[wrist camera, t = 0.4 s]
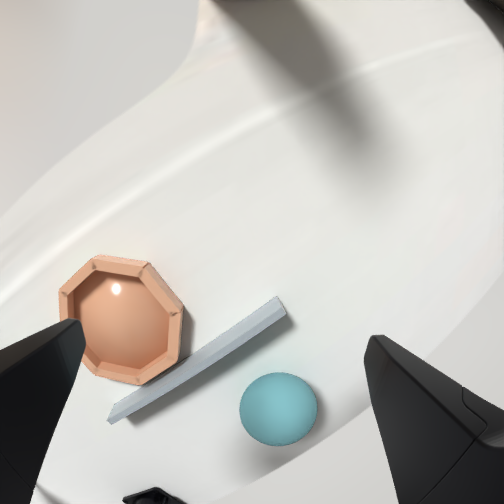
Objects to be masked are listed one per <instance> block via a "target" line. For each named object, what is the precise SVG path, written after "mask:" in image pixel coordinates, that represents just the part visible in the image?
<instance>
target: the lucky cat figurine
mask: <svg viewBox="0 0 504 504" xmlns="http://www.w3.org/2000/svg"><path fill="white" fill-rule="evenodd" d="M488 1H489V2H491V3H492V4H493V5H494V6H495V7H496V8H497V9H499V10H500V11H501V12H502V13H503V14H504V0H488Z"/></svg>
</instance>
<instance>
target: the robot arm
mask: <svg viewBox="0 0 504 504" xmlns="http://www.w3.org/2000/svg"><path fill="white" fill-rule="evenodd" d="M85 348H86V339H85V335H84V331H83V327H82V323H81V321H80V320H79V319H73V318H67V319H65V320H63V321H61V322H59V323H56V324H54V325H52V326H50V327H48V328H46V329H44V330H41V331H39V332H37V333H35V334H33V335H31V336H29V337H27V338H25V339H22V340H20V341H18V342H16V343H14V344H12V345H10V346H8V347H6V348H4V349H2V350H0V504H30V501H31V498H32V495H33V490H34V488H35V485H36V482H37V478H38V475H39V472H40V470H41V467H42V464H43V461H44V458H45V455H46V452H47V450H48V447H49V444H50V442H51V439H52V436H53V434H54V431H55V428H56V426H57V423H58V421H59V418H60V416H61V413H62V411H63V409H64V406H65V404H66V401H67V399H68V397H69V394H70V392H71V390H72V387H73V385H74V382H75V379H76V376H77V372H78V369H79V366H80V363H81V360H82V357H83V354H84V351H85ZM364 366H365V371H366V377H367V382H368V387H369V393H370V398H371V403H372V407H373V410H374V414H375V417H376V420H377V424H378V427H379V431H380V434H381V437H382V441H383V445H384V448H385V452H386V456H387V459H388V463H389V466H390V470H391V474H392V478H393V482H394V486H395V490H396V494H397V498H398V502H399V504H504V410H502V409H500V408H498V407H497V406H495V405H493V404H491V403H489V402H488V401H486V400H484V399H482V398H481V397H479V396H477V395H476V394H474V393H472V392H471V391H469V390H468V389H467V388H465V387H462V385H460V384H459V383H457V382H456V381H454V380H453V379H451V378H450V377H448V376H446V375H445V374H443V373H442V372H440V371H439V370H437V369H435V368H434V367H433V366H431V365H429V364H428V363H426V362H425V361H423V360H422V359H420V358H419V357H417V356H416V355H414V354H413V353H411V352H409V351H408V350H406V349H405V348H403V347H402V346H400V345H399V344H397V343H396V342H394V341H392V340H391V339H389V338H388V337H386V336H385V335H372V336H371V337H370V339H369V342H368V345H367V349H366V352H365V355H364ZM122 501H123V502H124V503H125V504H182V503H180V502H179V501H177V500H176V499H174V498H172V497H171V496H169V495H168V494H166V493H165V492H163V491H162V490H160V489H159V488H155V487H154V488H151V489H148V490H145V491H142V492H139V493H136V494H133V495H130V496H127V497H124V498H123V500H122Z"/></svg>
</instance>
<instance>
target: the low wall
mask: <svg viewBox="0 0 504 504" xmlns="http://www.w3.org/2000/svg"><path fill="white" fill-rule="evenodd" d="M285 314H286V312H285V309H284V307H283V305H282V303H281V301H280V300H279V298H278V297H277V296H276V297H274V298H273V299H272V300H270V301H269V302H267V303H266V304H265V305H263V306H262V307H260V308H259V309H258V310H256V311H255V312H253V313H252V314H251V315H249V316H248V317H246V318H245V319H243V320H242V321H241V322H239V323H238V324H236V325H235V326H233V327H232V328H230V329H229V330H228V331H226V332H225V333H223V334H222V335H220V336H219V337H217V338H216V339H214V340H213V341H211V342H210V343H208V344H207V345H206V346H204V347H203V348H201V349H200V350H198V351H197V352H195V353H194V354H192V355H191V356H189V357H188V358H186V359H185V360H183V361H182V362H180V363H179V364H177V365H175V366H174V367H172V368H171V369H169V370H168V371H166V372H165V373H163V374H162V375H160V376H159V377H157V378H155V379H154V380H152V381H151V382H149V383H148V384H146V385H144V386H143V387H141V388H140V389H138V390H137V391H135V392H133V393H132V394H130V395H129V396H127V397H125V398H124V399H122V400H120V401H119V402H117V403H116V404H114V406H113V408H112V410H111V412H110V414H109V416H108V418H107V421H108V422H109V423H110V424H111V425H112V424H114V423H116V422H117V421H119V420H121V419H123V418H124V417H126V416H128V415H130V414H131V413H133V412H135V411H137V410H138V409H140V408H142V407H144V406H145V405H147V404H149V403H150V402H152V401H154V400H155V399H157V398H159V397H160V396H162V395H164V394H165V393H167V392H169V391H170V390H172V389H174V388H175V387H177V386H178V385H180V384H182V383H183V382H185V381H187V380H188V379H190V378H191V377H193V376H194V375H196V374H198V373H199V372H201V371H202V370H204V369H206V368H207V367H209V366H210V365H212V364H213V363H215V362H216V361H218V360H219V359H221V358H222V357H224V356H226V355H227V354H229V353H230V352H232V351H233V350H235V349H236V348H238V347H239V346H241V345H242V344H244V343H245V342H247V341H248V340H249V339H251V338H252V337H254V336H255V335H257V334H258V333H260V332H261V331H263V330H264V329H266V328H267V327H268V326H270V325H271V324H273V323H274V322H276V321H277V320H278V319H280V318H281V317H283V316H284V315H285Z"/></svg>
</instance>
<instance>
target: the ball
mask: <svg viewBox="0 0 504 504" xmlns="http://www.w3.org/2000/svg"><path fill="white" fill-rule="evenodd" d="M316 416H317V401H316V397H315V395H314V393H313V391H312V389H311V388H310V387H309V385H308V384H307V383H306V382H305V381H303V380H302V379H300V378H299V377H297V376H294V375H292V374H288V373H271V374H267V375H264V376H262V377H260V378H258V379H256V380H255V381H254V382H253V383H251V384H250V385H249V386H248V388H247V389H246V391H245V392H244V394H243V396H242V399H241V402H240V418H241V421H242V424H243V426H244V428H245V429H246V431H247V432H248V433H249V434H250V435H251V436H252V437H253V438H254V439H256V440H257V441H259V442H261V443H264V444H267V445H271V446H284V445H289V444H292V443H294V442H296V441H298V440H300V439H301V438H303V437H304V436H305V435H306V434H307V433H308V432H309V431H310V429H311V428H312V426H313V425H314V422H315V420H316Z"/></svg>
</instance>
